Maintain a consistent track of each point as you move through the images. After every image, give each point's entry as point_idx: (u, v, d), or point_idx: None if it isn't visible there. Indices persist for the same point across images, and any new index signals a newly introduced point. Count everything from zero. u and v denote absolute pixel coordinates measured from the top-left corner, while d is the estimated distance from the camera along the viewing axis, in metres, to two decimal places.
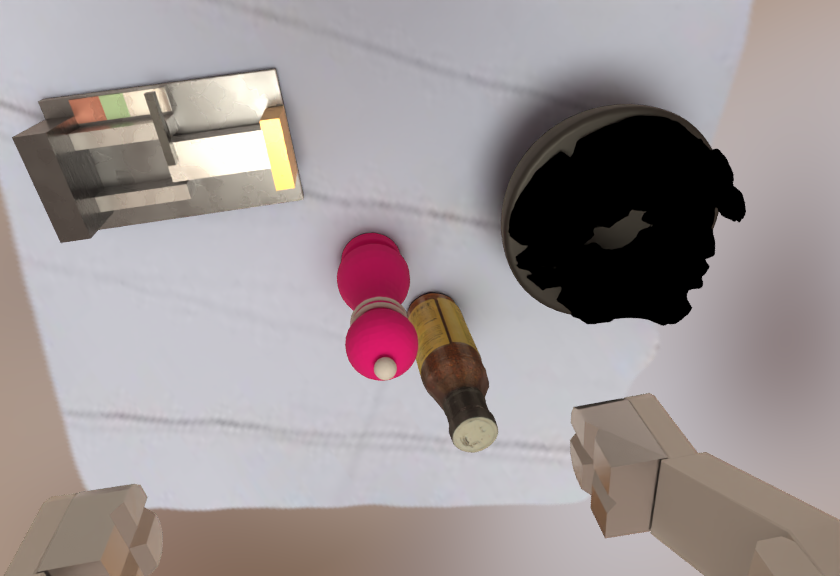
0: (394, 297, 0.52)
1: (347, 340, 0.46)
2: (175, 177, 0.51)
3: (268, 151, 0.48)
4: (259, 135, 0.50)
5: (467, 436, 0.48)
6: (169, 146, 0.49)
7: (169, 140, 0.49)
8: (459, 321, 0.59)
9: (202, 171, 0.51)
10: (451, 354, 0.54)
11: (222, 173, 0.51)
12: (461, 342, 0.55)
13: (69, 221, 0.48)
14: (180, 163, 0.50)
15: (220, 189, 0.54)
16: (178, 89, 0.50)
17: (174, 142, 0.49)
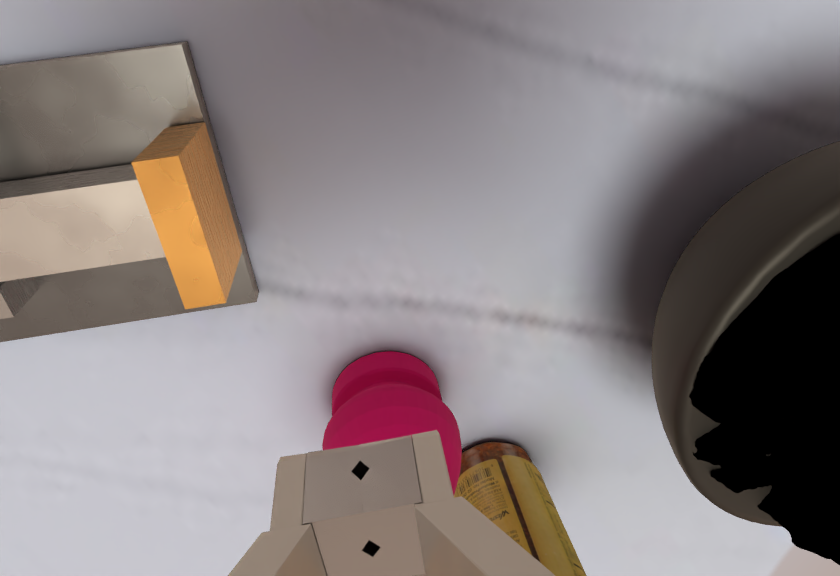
0: None
1: None
2: None
3: (159, 229, 0.21)
4: None
5: None
6: None
7: None
8: (549, 516, 0.32)
9: (28, 264, 0.24)
10: None
11: (73, 267, 0.24)
12: None
13: None
14: None
15: (88, 287, 0.27)
16: None
17: None
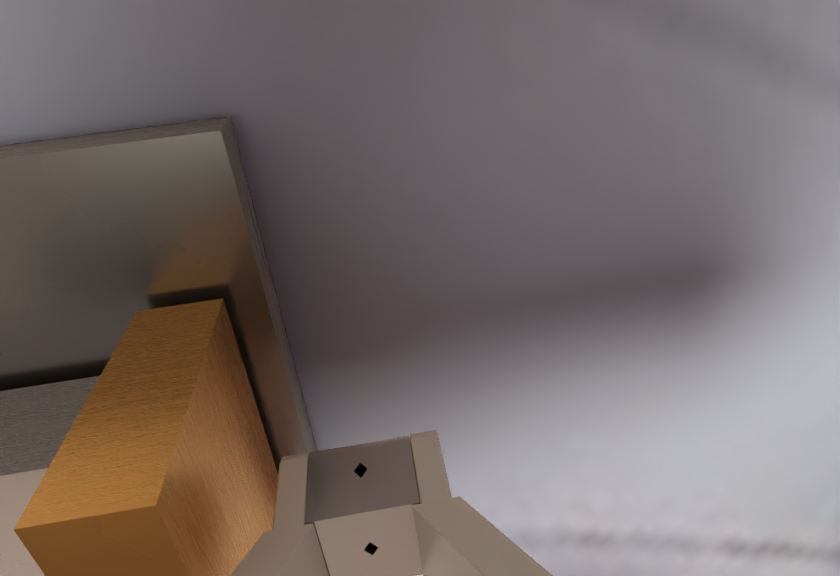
0: None
1: None
2: None
3: None
4: None
5: None
6: None
7: None
8: None
9: None
10: None
11: None
12: None
13: None
14: None
15: None
16: None
17: None
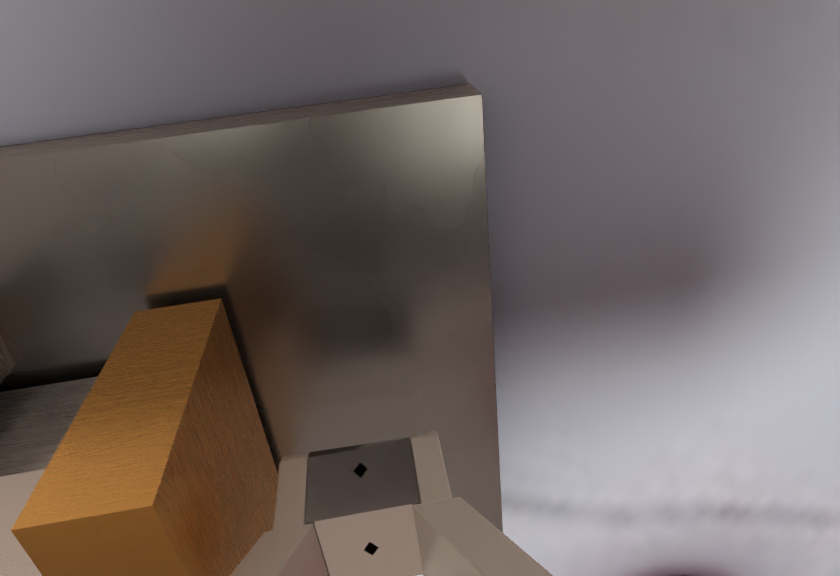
0: None
1: None
2: None
3: None
4: None
5: None
6: None
7: None
8: None
9: None
10: None
11: None
12: None
13: None
14: None
15: None
16: None
17: None
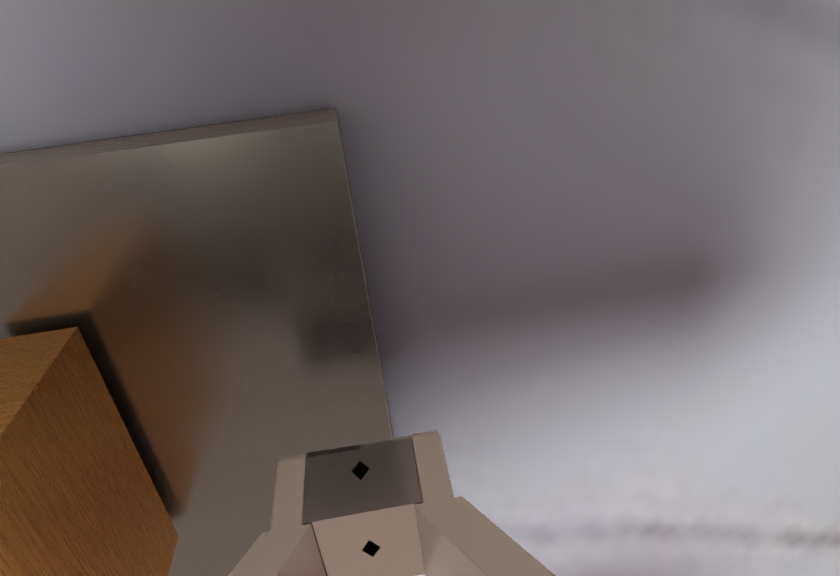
0: None
1: None
2: None
3: None
4: None
5: None
6: None
7: None
8: None
9: None
10: None
11: None
12: None
13: None
14: None
15: None
16: None
17: None
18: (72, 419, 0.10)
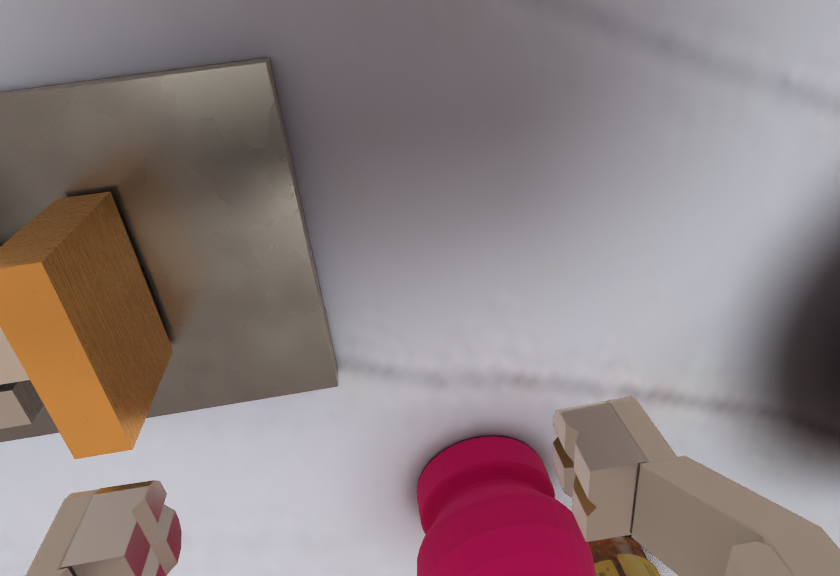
0: None
1: None
2: None
3: (25, 360, 0.15)
4: None
5: None
6: None
7: None
8: None
9: None
10: None
11: None
12: None
13: None
14: None
15: None
16: None
17: None
18: (108, 241, 0.17)
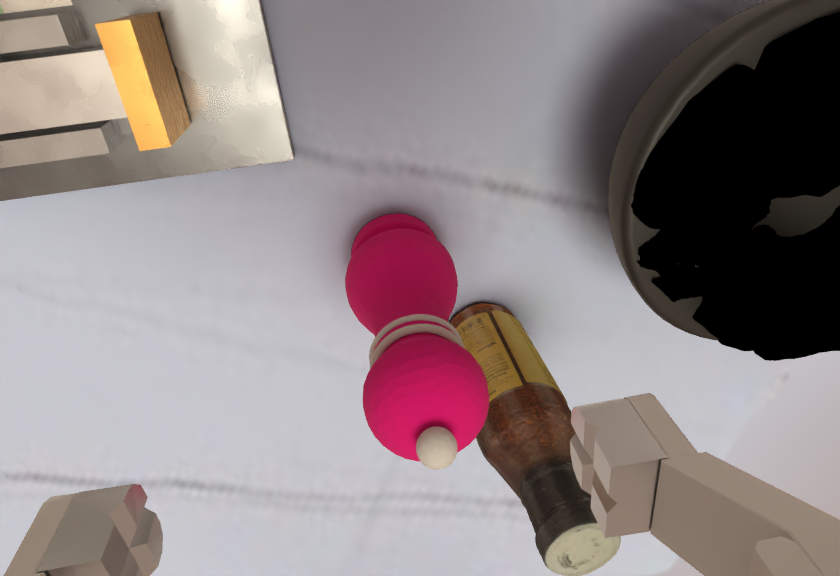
0: (440, 314, 0.32)
1: (366, 393, 0.26)
2: None
3: (117, 81, 0.28)
4: None
5: (569, 553, 0.28)
6: None
7: None
8: (530, 348, 0.39)
9: (19, 120, 0.30)
10: (529, 403, 0.34)
11: (54, 123, 0.31)
12: (541, 383, 0.35)
13: None
14: None
15: None
16: None
17: None
18: (157, 36, 0.30)
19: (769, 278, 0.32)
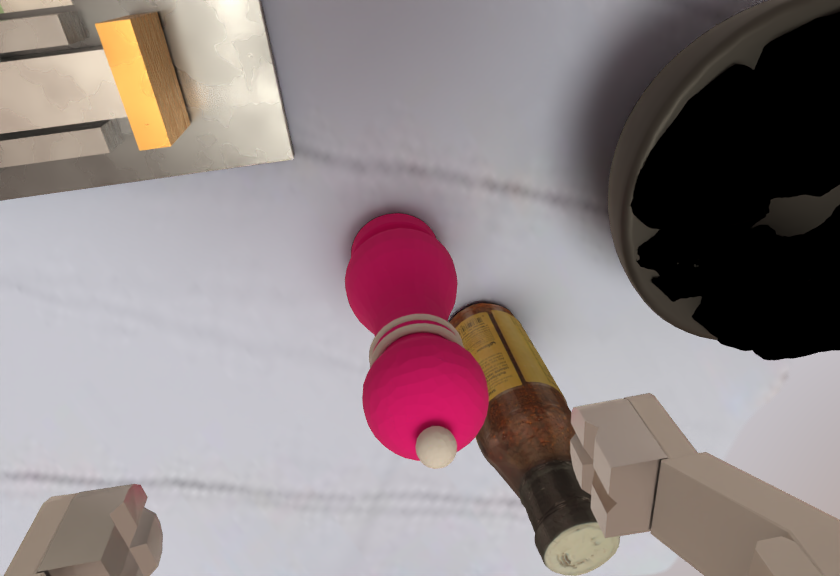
0: (440, 314, 0.32)
1: (366, 392, 0.26)
2: None
3: (117, 80, 0.28)
4: None
5: (568, 553, 0.28)
6: None
7: None
8: (529, 347, 0.39)
9: (19, 119, 0.30)
10: (528, 403, 0.34)
11: (54, 123, 0.31)
12: (541, 383, 0.35)
13: None
14: None
15: None
16: None
17: None
18: (157, 36, 0.30)
19: (768, 278, 0.32)
